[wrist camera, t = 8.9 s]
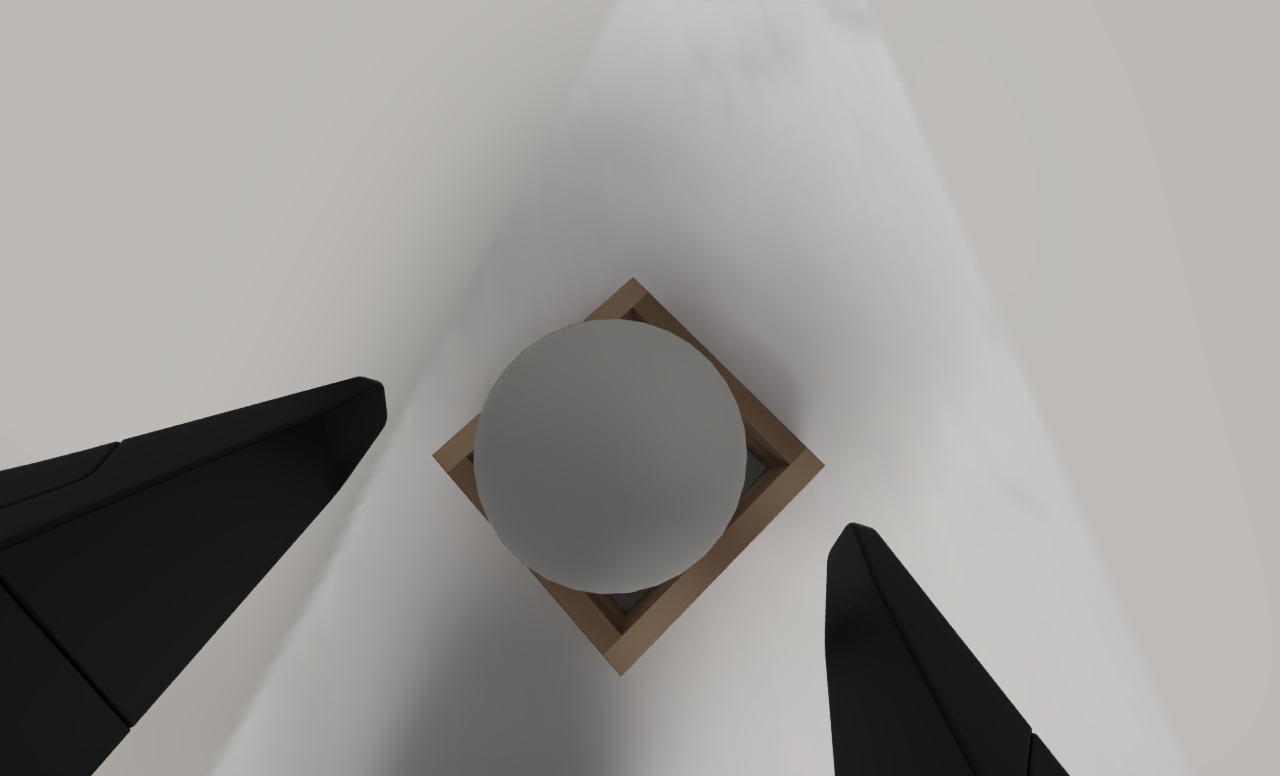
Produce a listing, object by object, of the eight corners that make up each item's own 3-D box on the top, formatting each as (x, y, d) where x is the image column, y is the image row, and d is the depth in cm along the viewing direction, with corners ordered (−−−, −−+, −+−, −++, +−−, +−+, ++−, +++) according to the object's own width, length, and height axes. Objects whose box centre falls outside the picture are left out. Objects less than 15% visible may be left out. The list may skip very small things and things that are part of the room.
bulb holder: (624, 646, 18) (620, 676, 15) (464, 461, 19) (431, 455, 16) (797, 469, 19) (825, 465, 16) (634, 307, 21) (633, 277, 18)
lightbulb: (723, 515, 19) (840, 552, 8) (571, 571, 18) (479, 689, 8) (668, 369, 20) (706, 230, 9) (524, 418, 20) (386, 334, 9)
